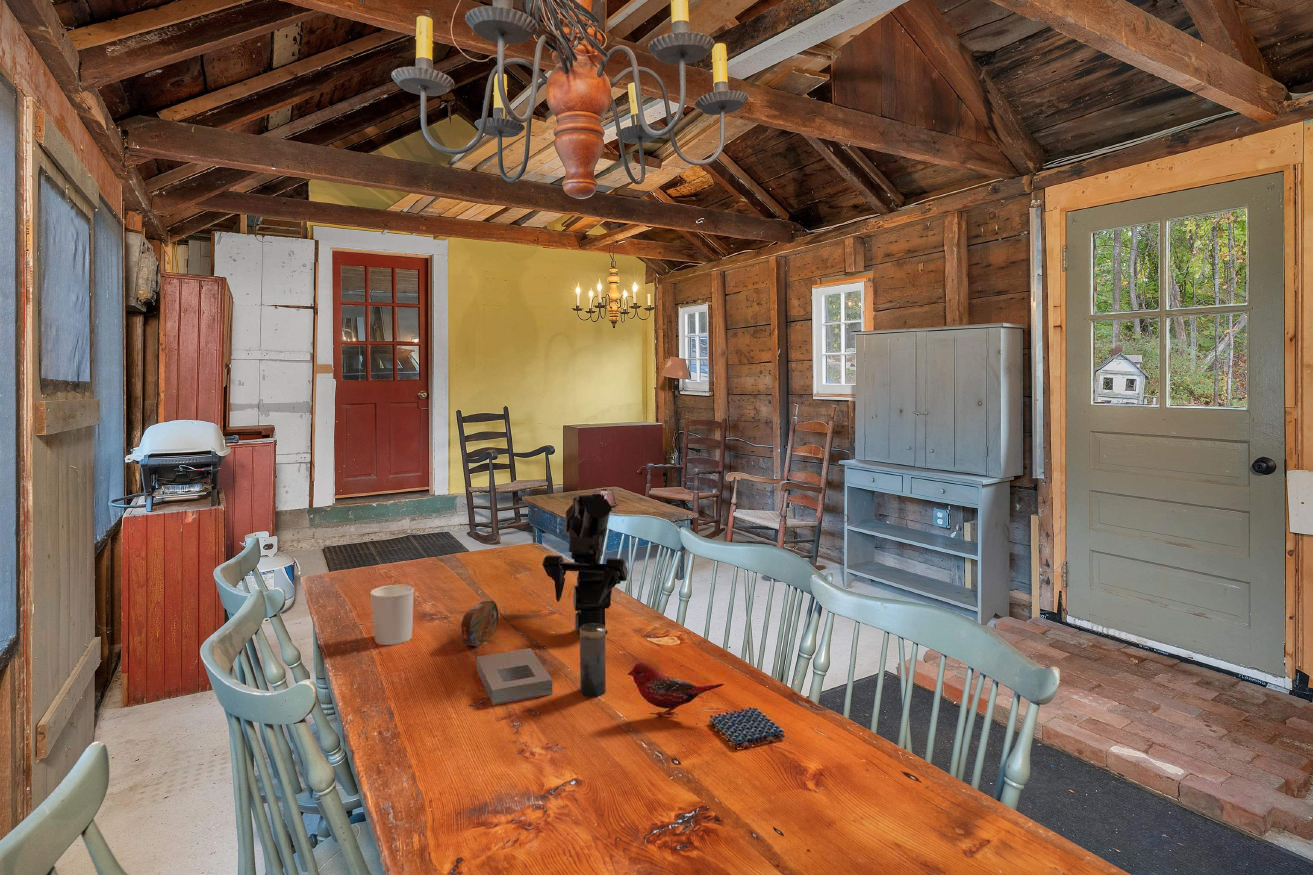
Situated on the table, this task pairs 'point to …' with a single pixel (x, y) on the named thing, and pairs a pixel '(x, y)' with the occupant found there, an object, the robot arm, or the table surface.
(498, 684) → the housing block
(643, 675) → the decorative bird figurine
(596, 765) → the table surface
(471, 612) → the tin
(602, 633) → the end plug
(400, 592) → the white paper cup
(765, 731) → the woven mat
